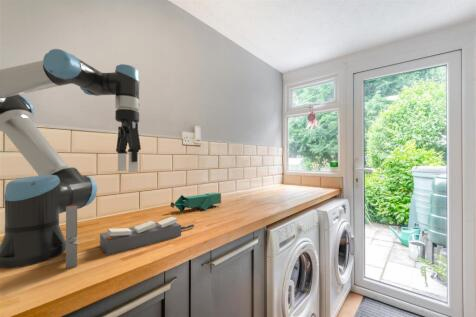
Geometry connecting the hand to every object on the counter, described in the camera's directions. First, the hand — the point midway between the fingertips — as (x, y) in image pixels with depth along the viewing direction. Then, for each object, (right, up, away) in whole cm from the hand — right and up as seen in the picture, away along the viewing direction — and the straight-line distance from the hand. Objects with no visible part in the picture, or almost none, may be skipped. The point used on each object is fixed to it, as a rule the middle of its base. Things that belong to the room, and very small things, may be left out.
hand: (127, 171), depth 76 cm
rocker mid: (+7, -19, -2) cm, 21 cm away
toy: (+15, -25, +47) cm, 56 cm away
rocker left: (+2, -19, -8) cm, 21 cm away
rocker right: (+13, -19, +3) cm, 24 cm away
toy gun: (-8, -24, -15) cm, 30 cm away
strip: (+9, -24, +2) cm, 26 cm away
